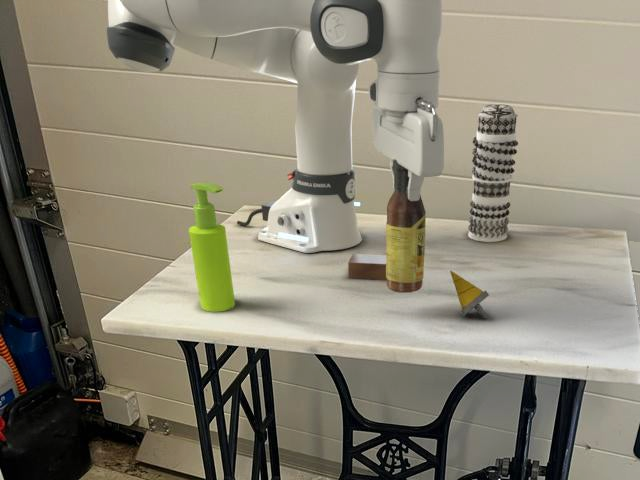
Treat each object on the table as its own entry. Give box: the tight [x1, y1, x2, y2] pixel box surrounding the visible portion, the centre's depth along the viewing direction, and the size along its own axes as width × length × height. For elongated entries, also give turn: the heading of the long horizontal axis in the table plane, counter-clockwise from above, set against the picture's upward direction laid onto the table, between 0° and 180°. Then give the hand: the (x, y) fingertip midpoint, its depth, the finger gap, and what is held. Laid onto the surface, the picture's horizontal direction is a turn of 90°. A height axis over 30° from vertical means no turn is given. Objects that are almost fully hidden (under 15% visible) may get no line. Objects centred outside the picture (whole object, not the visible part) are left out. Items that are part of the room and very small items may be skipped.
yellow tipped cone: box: [450, 270, 490, 319], centre depth 122 cm, size 5×5×10 cm
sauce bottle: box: [385, 159, 427, 294], centre depth 116 cm, size 6×6×20 cm
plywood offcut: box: [347, 253, 387, 281], centre depth 139 cm, size 8×5×3 cm, turn 83°
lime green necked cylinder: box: [188, 181, 236, 313], centre depth 121 cm, size 6×7×20 cm
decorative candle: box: [467, 103, 519, 243], centre depth 151 cm, size 9×9×25 cm
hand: (406, 195), depth 113 cm, fingers closed on sauce bottle, 4 cm apart
